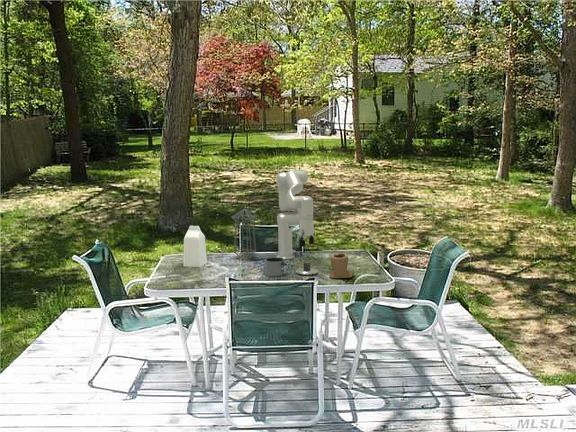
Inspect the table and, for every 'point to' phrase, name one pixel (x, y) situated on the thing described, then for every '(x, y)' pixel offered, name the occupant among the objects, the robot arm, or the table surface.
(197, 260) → the milk
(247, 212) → the geometric lantern
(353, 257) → the table surface
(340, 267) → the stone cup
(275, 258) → the pot
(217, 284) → the table surface
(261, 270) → the table surface
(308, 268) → the lid
